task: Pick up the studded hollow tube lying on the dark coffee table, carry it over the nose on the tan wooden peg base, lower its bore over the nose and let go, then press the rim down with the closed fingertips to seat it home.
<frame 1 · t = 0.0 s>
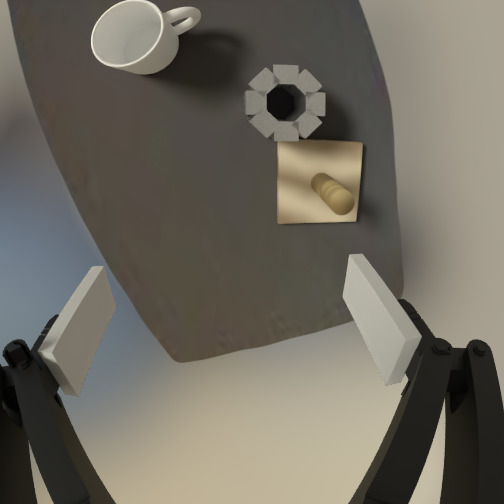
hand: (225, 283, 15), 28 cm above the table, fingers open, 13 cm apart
tan wooden peg base: (318, 180, 42), on the table
studded hollow tube: (277, 103, 36), on the table
mug: (163, 42, 31), on the table
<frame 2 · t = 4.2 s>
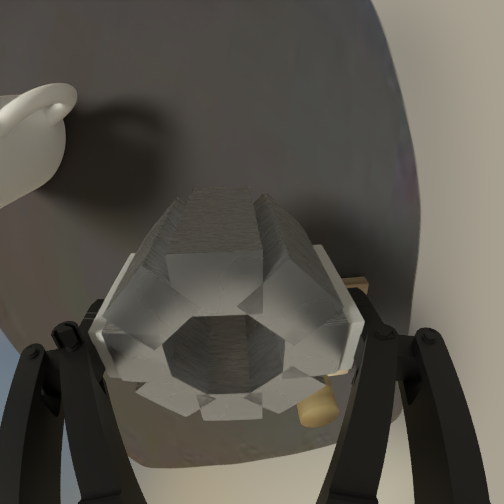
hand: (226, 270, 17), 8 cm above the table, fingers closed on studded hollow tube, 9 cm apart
tan wooden peg base: (297, 332, 29), on the table
studded hollow tube: (226, 265, 17), point 7 cm above the table, touching gripper
mug: (47, 129, 19), on the table
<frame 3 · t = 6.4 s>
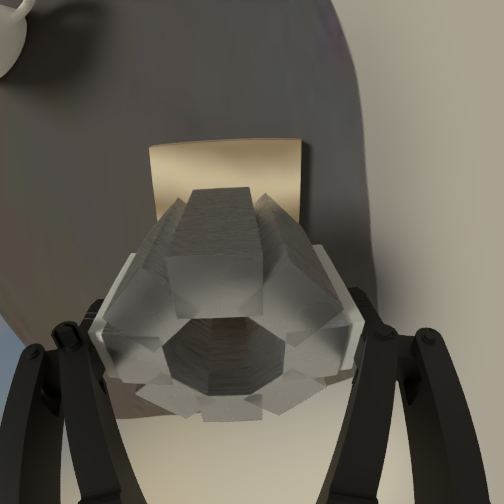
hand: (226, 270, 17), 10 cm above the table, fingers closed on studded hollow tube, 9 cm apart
tan wooden peg base: (227, 208, 26), on the table
studded hollow tube: (226, 267, 17), point 10 cm above the table, touching gripper
mug: (14, 34, 15), on the table
when the fingers open (3 cm above the table, at t = 8.6 s): studded hollow tube drops 1 cm, resting on tan wooden peg base.
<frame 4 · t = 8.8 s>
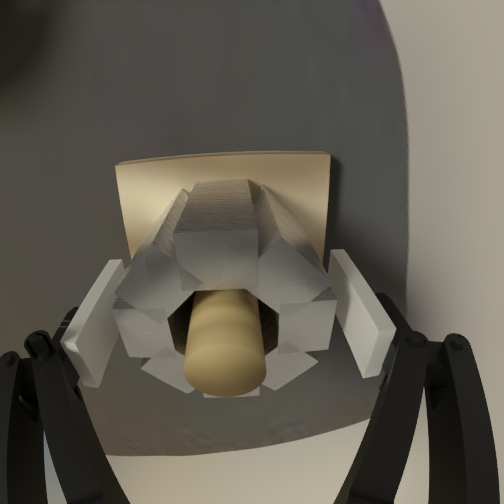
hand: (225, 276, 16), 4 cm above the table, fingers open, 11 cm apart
tan wooden peg base: (226, 247, 19), on the table
studded hollow tube: (225, 253, 18), point 1 cm above the table, touching tan wooden peg base
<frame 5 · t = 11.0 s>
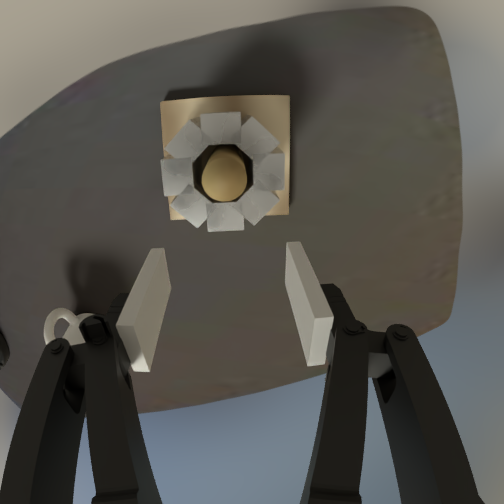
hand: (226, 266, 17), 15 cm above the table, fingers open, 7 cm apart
tan wooden peg base: (226, 155, 29), on the table
studded hollow tube: (225, 158, 27), point 1 cm above the table, touching tan wooden peg base
mug: (90, 322, 37), on the table
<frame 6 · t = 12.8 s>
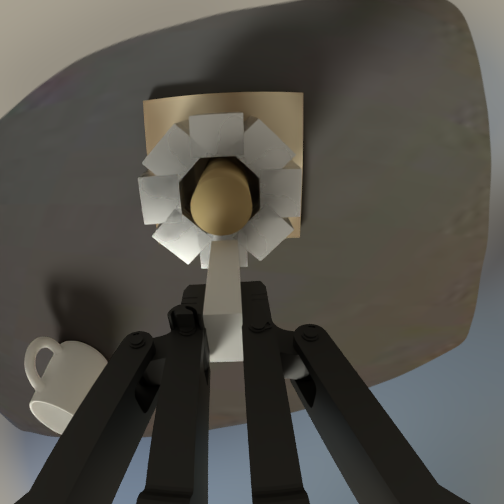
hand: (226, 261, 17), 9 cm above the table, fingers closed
tan wooden peg base: (225, 166, 23), on the table
studded hollow tube: (223, 170, 22), point 1 cm above the table, touching tan wooden peg base
mug: (76, 350, 32), on the table
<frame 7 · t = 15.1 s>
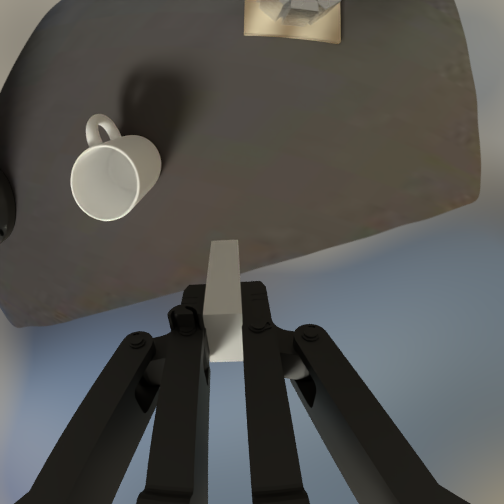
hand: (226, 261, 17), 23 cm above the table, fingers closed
mug: (129, 151, 36), on the table
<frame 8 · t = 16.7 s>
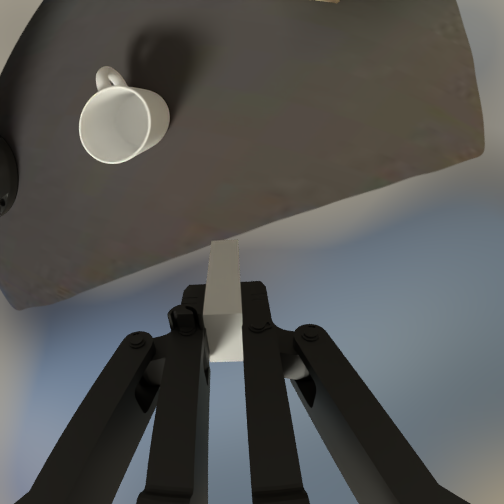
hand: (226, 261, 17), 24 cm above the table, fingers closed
mug: (136, 107, 34), on the table
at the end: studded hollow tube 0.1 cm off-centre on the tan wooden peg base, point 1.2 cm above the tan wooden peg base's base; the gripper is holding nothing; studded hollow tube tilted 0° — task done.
